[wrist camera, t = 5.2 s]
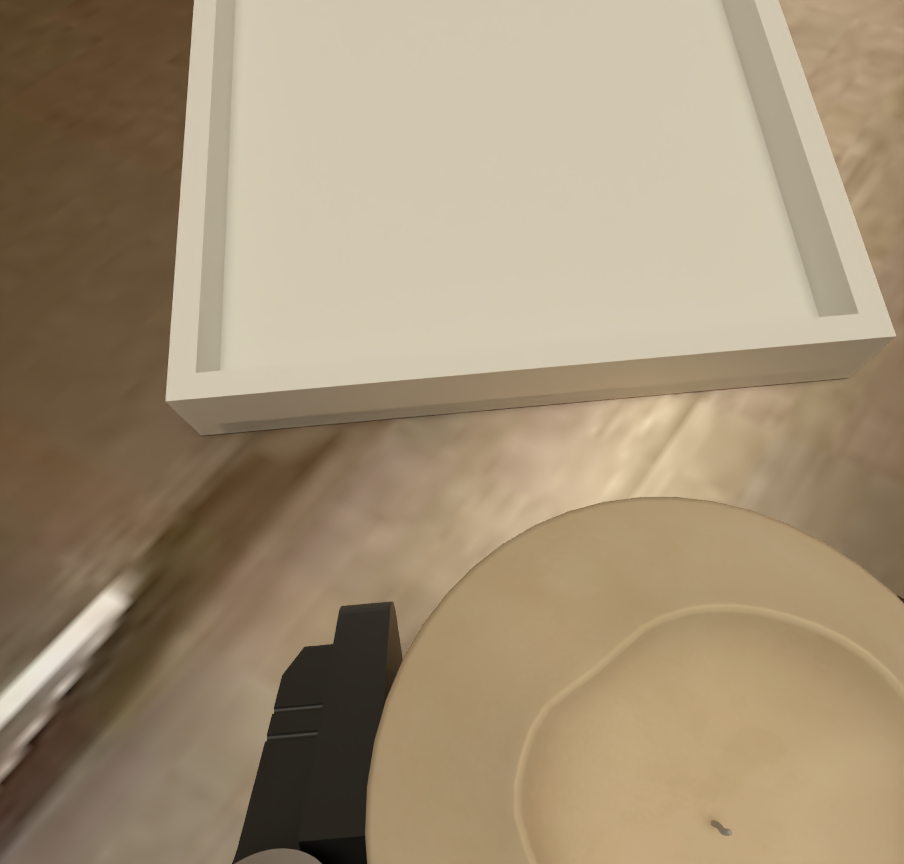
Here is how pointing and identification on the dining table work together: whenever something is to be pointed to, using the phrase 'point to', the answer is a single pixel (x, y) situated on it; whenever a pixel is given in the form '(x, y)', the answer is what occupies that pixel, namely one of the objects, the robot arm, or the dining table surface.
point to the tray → (503, 210)
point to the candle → (648, 701)
